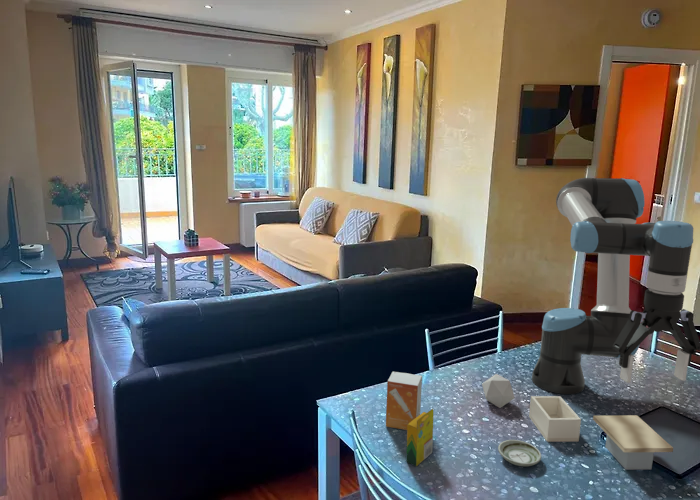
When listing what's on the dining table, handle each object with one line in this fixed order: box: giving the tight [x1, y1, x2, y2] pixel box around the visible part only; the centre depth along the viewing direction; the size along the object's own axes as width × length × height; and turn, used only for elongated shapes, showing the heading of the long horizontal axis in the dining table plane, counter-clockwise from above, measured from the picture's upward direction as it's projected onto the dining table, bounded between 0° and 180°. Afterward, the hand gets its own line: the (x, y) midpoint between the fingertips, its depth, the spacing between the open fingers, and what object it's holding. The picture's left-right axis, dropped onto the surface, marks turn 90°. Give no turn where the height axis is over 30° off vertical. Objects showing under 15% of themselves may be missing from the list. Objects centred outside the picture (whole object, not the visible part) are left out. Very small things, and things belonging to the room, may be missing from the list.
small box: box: [385, 371, 423, 431], centre depth 135 cm, size 8×6×13 cm
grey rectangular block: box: [604, 434, 655, 471], centre depth 122 cm, size 6×9×6 cm, turn 2°
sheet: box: [592, 414, 674, 453], centre depth 121 cm, size 11×14×1 cm
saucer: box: [497, 439, 542, 467], centre depth 121 cm, size 10×10×2 cm
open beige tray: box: [528, 395, 582, 443], centre depth 134 cm, size 8×12×6 cm, turn 2°
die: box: [481, 373, 516, 409], centre depth 147 cm, size 8×9×10 cm
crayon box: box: [406, 408, 434, 467], centre depth 120 cm, size 7×3×12 cm, turn 140°
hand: (652, 379), depth 120 cm, fingers open, 13 cm apart
